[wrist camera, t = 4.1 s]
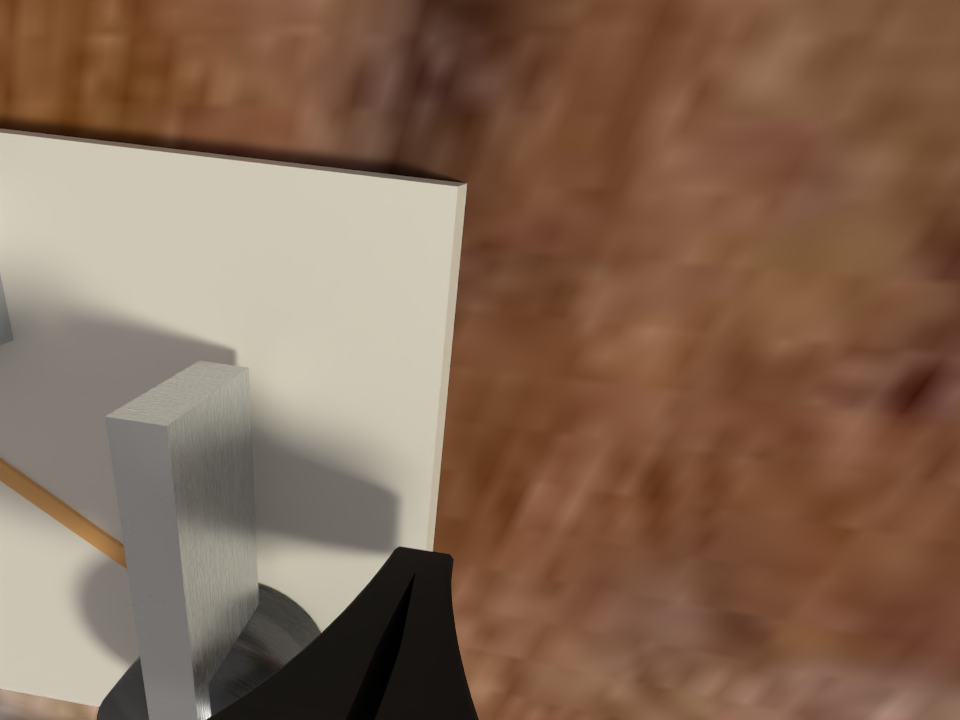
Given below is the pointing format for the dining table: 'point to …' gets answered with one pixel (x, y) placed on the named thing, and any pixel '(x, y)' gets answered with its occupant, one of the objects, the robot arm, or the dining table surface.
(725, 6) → the dining table surface
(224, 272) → the leveling plate
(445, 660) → the robot arm
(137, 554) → the knob
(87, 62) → the dining table surface
